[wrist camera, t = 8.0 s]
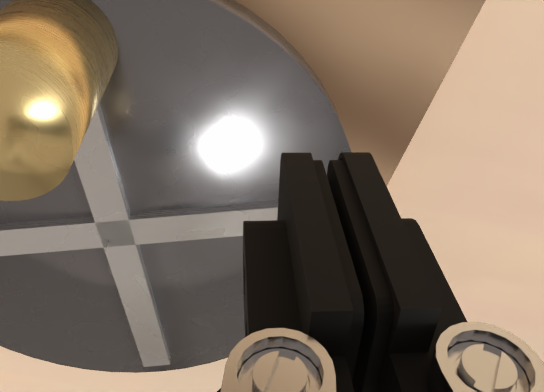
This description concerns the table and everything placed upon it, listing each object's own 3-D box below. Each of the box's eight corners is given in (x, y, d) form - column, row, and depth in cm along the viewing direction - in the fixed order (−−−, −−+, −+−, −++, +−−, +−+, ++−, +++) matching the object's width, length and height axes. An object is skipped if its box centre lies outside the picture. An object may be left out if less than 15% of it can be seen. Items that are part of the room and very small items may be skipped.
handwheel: (338, 303, 27) (375, 471, 20) (-5, 333, 27) (-86, 515, 20) (351, -76, 17) (440, 6, 10) (-220, -35, 16) (-561, 82, 9)
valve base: (290, 341, 32) (293, 367, 30) (-110, 283, 27) (-131, 311, 25) (474, -20, 20) (494, -6, 18) (-199, -250, 15) (-249, -257, 13)
